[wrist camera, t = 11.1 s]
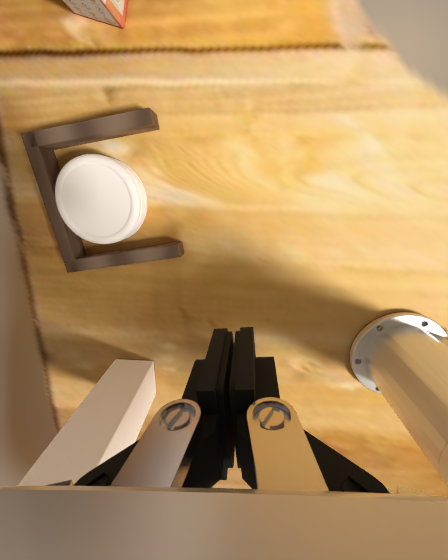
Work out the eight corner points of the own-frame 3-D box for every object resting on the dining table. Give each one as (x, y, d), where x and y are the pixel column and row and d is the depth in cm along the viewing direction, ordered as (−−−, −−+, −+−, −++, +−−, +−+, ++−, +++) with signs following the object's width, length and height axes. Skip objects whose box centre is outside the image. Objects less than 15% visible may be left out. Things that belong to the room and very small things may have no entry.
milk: (119, 390, 42) (-3, 584, 21) (115, 357, 40) (-24, 534, 19) (157, 393, 42) (70, 592, 21) (154, 359, 40) (55, 542, 19)
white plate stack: (150, 242, 35) (140, 247, 31) (76, 238, 35) (59, 242, 32) (147, 158, 32) (135, 154, 28) (66, 155, 32) (45, 151, 29)
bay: (156, 114, 30) (149, 107, 28) (184, 252, 35) (179, 257, 32) (37, 138, 31) (20, 133, 29) (79, 267, 36) (67, 272, 34)
